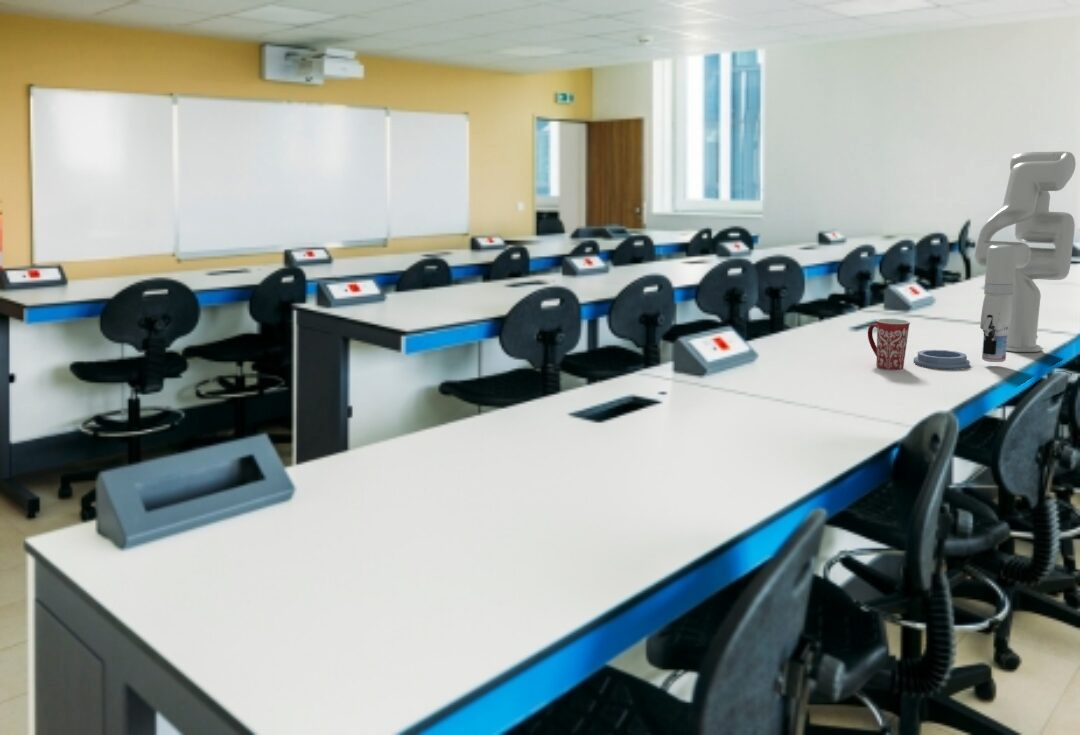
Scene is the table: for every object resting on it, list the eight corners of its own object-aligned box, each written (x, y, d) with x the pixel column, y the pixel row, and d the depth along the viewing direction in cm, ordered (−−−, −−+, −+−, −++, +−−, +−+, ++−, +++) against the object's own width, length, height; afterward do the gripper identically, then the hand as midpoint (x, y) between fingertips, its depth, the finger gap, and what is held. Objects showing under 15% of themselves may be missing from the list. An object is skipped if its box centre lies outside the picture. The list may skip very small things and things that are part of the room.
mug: (914, 368, 268) (917, 321, 265) (891, 372, 264) (894, 324, 261) (879, 361, 279) (882, 316, 276) (857, 364, 274) (859, 318, 272)
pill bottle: (1007, 362, 266) (1011, 323, 263) (984, 362, 267) (987, 323, 264) (1002, 358, 272) (1005, 319, 269) (979, 358, 273) (982, 319, 270)
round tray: (927, 357, 284) (928, 347, 283) (978, 363, 273) (979, 353, 272) (904, 364, 274) (904, 354, 273) (956, 371, 263) (956, 361, 262)
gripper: (997, 284, 273) (992, 345, 277) (972, 291, 262) (968, 355, 266) (1024, 286, 268) (1019, 348, 272) (1000, 294, 256) (995, 358, 260)
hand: (994, 351), depth 269 cm, fingers closed on pill bottle, 6 cm apart
